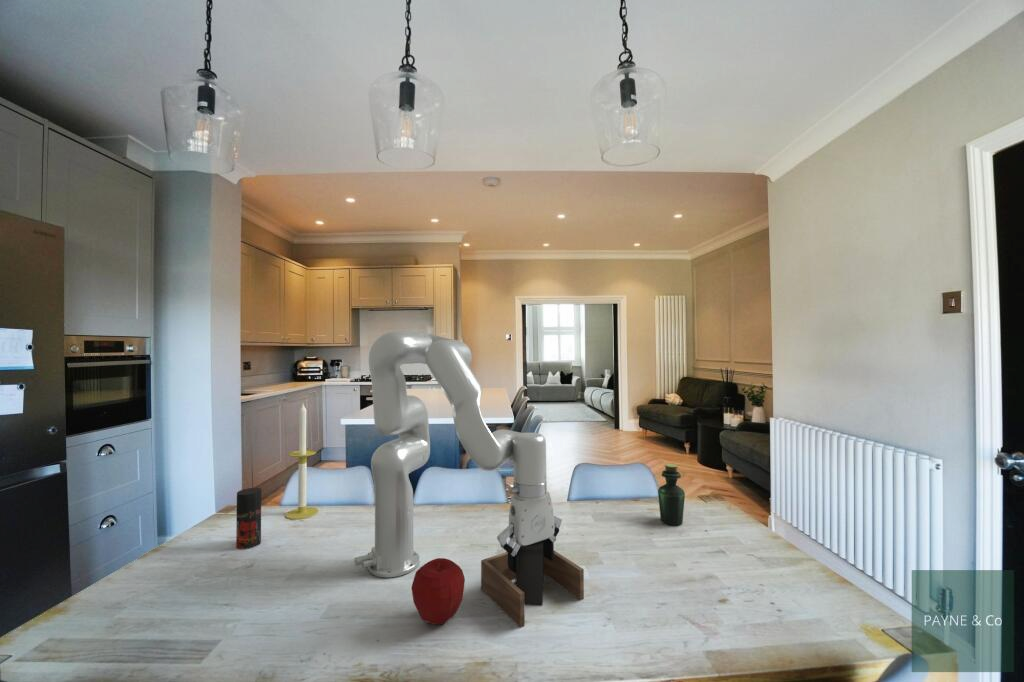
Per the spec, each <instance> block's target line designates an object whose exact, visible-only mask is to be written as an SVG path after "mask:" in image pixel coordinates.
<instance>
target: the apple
mask: <svg viewBox="0 0 1024 682" xmlns="http://www.w3.org/2000/svg"><path fill="white" fill-rule="evenodd" d="M465 582H466V579H465V576H464V572H463V569H462V567H461V566H459V565H458V564H457V563H455V562H454V561H453V560H451V559H449V558H443V557H442V558H441V557H437V558H433V559H432V560H430V561H427V562H426V563H424V564H423V565H422V566H420V567H419V569H417V570H416V571H415V574H414V577H413V580H412V584H411V594H412V595H411V596H412V600H413V603H414V606H415V608H416V610H417V612H418V614H419V616H420V619H421V620H422V621H424V622H425V623H429V624H433V625H437V626H438V625H443V624H445V623H447V622H449V620H450V619H452V618H453V617H454V615H456V613H457V611H458V610H459V607H460V605H461V604H462V601H463V597H464V592H465Z"/></svg>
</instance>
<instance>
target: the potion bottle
mask: <svg viewBox="0 0 1024 682" xmlns="http://www.w3.org/2000/svg"><path fill="white" fill-rule="evenodd" d="M664 468H665V469H664V470H663V471H662V473H661V476H662V477H663V478H664V479H665V484H663V485H661V486H659V488H658V489H657V495H658V505H659V515H660V516H659V517H660V521H661V523H663V524H665V525H668V526H672V527H678V526H681V525H683V523H684V521H683V520H684V509H685V499H686V498H685V495H686V491H684V488H683V489H682V487H680V486H679V485H677V482H678V480H679V479H682V478H681V477H682V475H681V473H680V472H679V471H677V469H678V465H677V464H676V463H665V464H664Z"/></svg>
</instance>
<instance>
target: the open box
mask: <svg viewBox="0 0 1024 682" xmlns="http://www.w3.org/2000/svg"><path fill="white" fill-rule="evenodd" d="M480 564H481V565H480V570H481V571H480V572H481V573H480V587H481V588H480V589H481V590H482V591H483V592H484V593H485V594H486V595H487V596H488V597H489V598H490V599H491V600H492V601H493V602H494V603H495V604H496V605H497V606H498V607H499V608H500V609H501V610H502V611H503V612H504V613H505V614H506V615H507V616H508V617H509V618H510V619H511V620H512V621H513V622H514V623H515V624H516V625H517V626H518V627H519V628H523V627H525V624H526V623H525V621H526V620H525V612H526V611H525V610H526V609H525V604H524V592H523V591H522V590H520V589H519V588H518V587H517V586H516V583H513V580H516V574H515V573H514V572H513V571H511V570H510V569H509V567H508V552H507V551H505V552H502V553H499V554H496V555H493V556H490V557H486V558H484V559H481V560H480ZM543 564H544V576H545V575H546V576H547V577H548V578H549V579H550V580H552V581H553V582H555V583H556V584H558V585H559V586H560V587H562V588H563V589H565V590H566V591H567V592H568V593H569V594H571V595H572V596H573V597H575V598H577V600H579V601H582V600H584V599H585V597H584V596H585V593H584V592H585V591H584V590H585V585H584V581H585V578H584V577H585V576H584V575H585V574H584V572H585V569H584V568H582V567H581V566H579V565H577V563H574V562H573V561H571V560H569V558H566V557H565V556H563V555H562V554H560V553H559V552H557V551H556V550H554V560H552V561H551V560H549V559H547V558H546V557H544V556H543Z"/></svg>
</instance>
